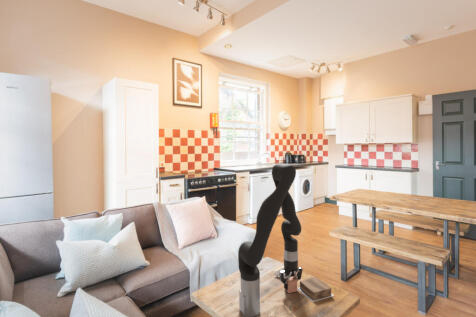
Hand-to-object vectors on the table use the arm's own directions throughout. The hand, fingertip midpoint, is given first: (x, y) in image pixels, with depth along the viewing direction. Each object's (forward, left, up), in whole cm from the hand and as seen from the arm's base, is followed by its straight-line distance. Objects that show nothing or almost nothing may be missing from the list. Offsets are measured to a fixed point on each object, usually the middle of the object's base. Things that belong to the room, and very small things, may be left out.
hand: (290, 288), depth 142 cm
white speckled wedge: (+5, +15, -3) cm, 16 cm away
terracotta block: (0, 0, -1) cm, 1 cm away
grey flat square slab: (+11, -6, -2) cm, 13 cm away
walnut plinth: (+11, -6, -1) cm, 13 cm away
